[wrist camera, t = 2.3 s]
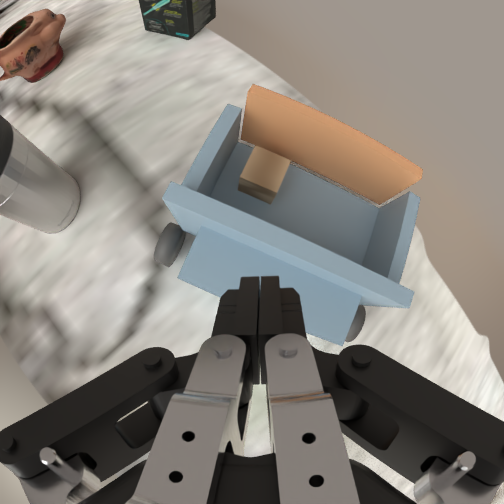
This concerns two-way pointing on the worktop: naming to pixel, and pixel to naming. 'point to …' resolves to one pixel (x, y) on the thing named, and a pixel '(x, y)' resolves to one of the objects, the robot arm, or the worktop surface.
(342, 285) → the pickup bed
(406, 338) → the worktop surface
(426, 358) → the worktop surface
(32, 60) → the decorative planter
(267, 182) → the block
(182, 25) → the tampon box
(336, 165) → the panel
